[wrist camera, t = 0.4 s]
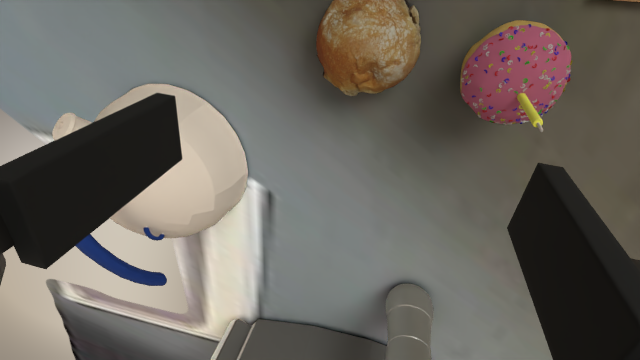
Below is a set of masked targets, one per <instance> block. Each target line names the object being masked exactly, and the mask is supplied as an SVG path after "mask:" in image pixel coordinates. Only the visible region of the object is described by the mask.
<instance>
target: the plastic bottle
mask: <svg viewBox="0 0 640 360" xmlns="http://www.w3.org/2000/svg"><path fill="white" fill-rule="evenodd" d="M385 307H386V317H387V330H388V342H387V349H386V357H385V360H431V349H430V341H431V326H432V322H433V314H434V308H433V305H432V301H431V298H430V296H429V295H428V294H427V293H426V292H425V291H424V290H423V289H422V288H421V287H419V286H417V285H414V284H400V285H397V286H396V287H394V288H393V289H392V290H391V291H390V292H389V294H388V296H387V300H386V304H385Z"/></svg>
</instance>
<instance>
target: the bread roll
mask: <svg viewBox="0 0 640 360" xmlns="http://www.w3.org/2000/svg"><path fill="white" fill-rule="evenodd" d="M418 24H419V14H418V11H417V9H416V8H415V7H414V5H413V6H411V7H409V3H408V2H407V0H333V2H332V3H331V5H330V6H329V8H328V9H327V11H326V13H325V15H324V17H323V19H322V20H321V22H320V25H319V29H318V32H317V41H316V47H317V54H318V55H317V57H318V58H319V61H320V63H321V64H322V65H323V67H324V72H323V77H324V78H326V79H327V80H328V81H330V82H331V83H332V84H333V85H334V86H335V87H338V88H339V89H340V90H341V91H343V93H345V94H346V95H350V96H354V95H357V94H358V92H366V93H372V94H376V93H381V92H382V91H384V90H385V89H387V88H391V87H393V86H395V85H397V84H398V83H399V82H401V81H402V80H404V79H405V78H406V77H407V76H408V74H409V73H410V71H411V70H412V68H413V67H414V65H415V63H416V61H417V59H418V57H419V54H420V44H421V35H420V29H421V27H419V25H418Z"/></svg>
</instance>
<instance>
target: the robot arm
mask: <svg viewBox="0 0 640 360" xmlns="http://www.w3.org/2000/svg"><path fill="white" fill-rule="evenodd" d="M181 160H182V151H181V142H180V133H179V125H178V116H177V107H176V98H175V96H173V95H168V94H162V93H155V94H153V95H151V96H149V97H146V98H144V99H142V100H140V101H138V102H136V103H134V104H132V105H129V106H127V107H125V108H123V109H121V110H119V111H117V112H115V113H112V114H110V115H108V116H106V117H104V118H102V119H100V120H98V121H95V122H93V123H91V124H89V125H87V126H85V127H83V128H81V129H78V130H76V131H74V132H72V133H70V134H68V135H66V136H64V137H61V138H59V139H57V140H55V141H53V142H51V143H49V144H47V145H45V146H42V147H40V148H38V149H36V150H34V151H32V152H30V153H27V154H25V155H23V156H21V157H19V158H17V159H15V160H13V161H11V162H8V163H6V164H4V165H2V166H0V285H1V281H2V277H3V273H4V270H5V267H6V261H5V258H4V256H3V254H2V253H3V252H5V251H6V250H8V249H9V248H11V247H12V246H14V247H15V249H16V251H17V254H18V256H19V258H20V260H21V262H22V263H25V264H29V265H32V266H36V267H40V268H43V269H47V268H48V267H49V266H50V265H52V264H53V263H54V262H55V261H57V260H58V259H59V258H60V257H61V256H63V255H64V254H65V253H66V252H68V251H69V250H70V249H72V248H73V247H74V246H75V245H77V244H78V243H79V242H80V241H82V240H83V239H84V238H85V237H86V236H88V235H89V234H90V233H91V232H93V231H94V230H95V229H96V228H98V227H99V226H100V225H101V224H102V223H104V222H105V221H106V220H108V219H109V218H110V217H111V216H113V215H114V214H115V213H116V212H118V211H119V210H120V209H121V208H123V207H124V206H125V205H126V204H127V203H129V202H130V201H131V200H132V199H134V198H135V197H136V196H137V195H139V194H140V193H141V192H142V191H144V190H145V189H146V188H147V187H149V186H150V185H151V184H152V183H154V182H155V181H156V180H157V179H159V178H160V177H161V176H162V175H163V174H165V173H166V172H167V171H168V170H170V169H171V168H172V167H173V166H175V165H176V164H177V163H178V162H180V161H181ZM507 229H508V232H509V235H510V238H511V240H512V243H513V246H514V249H515V252H516V255H517V258H518V260H519V263H520V266H521V269H522V272H523V275H524V278H525V280H526V283H527V286H528V289H529V292H530V295H531V298H532V300H533V303H534V306H535V309H536V312H537V315H538V318H539V320H540V323H541V326H542V329H543V332H544V335H545V338H546V341H547V343H548V346H549V349H550V352H551V355H552V358H553V360H640V260H635V259H631V258H630V257H629V256H628V255H627V253H626V252H625V251H624V249H623V248H622V247H621V245H620V244H619V243H618V241H617V240H616V238H615V237H614V236H613V234H612V233H611V232H610V230H609V229H608V228H607V226H606V225H605V224H604V222H603V221H602V220H601V218H600V217H599V215H598V214H597V213H596V211H595V210H594V209H593V207H592V206H591V205H590V203H589V202H588V201H587V199H586V198H585V197H584V195H583V194H582V193H581V191H580V190H579V188H578V187H577V186H576V184H575V183H574V182H573V180H572V179H571V178H570V176H569V175H568V174H567V172H566V171H565V170H564V168H563V167H558V166H553V165H547V164H542V163H538V164H537V166H536V168H535V170H534V173H533V175H532V177H531V179H530V181H529V183H528V185H527V187H526V189H525V191H524V194H523V196H522V198H521V200H520V202H519V204H518V206H517V208H516V210H515V213H514V215H513V217H512V219H511V221H510V223H509V225H508V227H507Z"/></svg>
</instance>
